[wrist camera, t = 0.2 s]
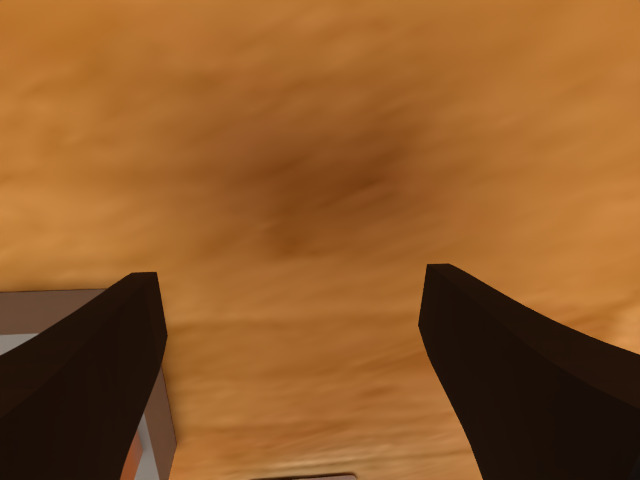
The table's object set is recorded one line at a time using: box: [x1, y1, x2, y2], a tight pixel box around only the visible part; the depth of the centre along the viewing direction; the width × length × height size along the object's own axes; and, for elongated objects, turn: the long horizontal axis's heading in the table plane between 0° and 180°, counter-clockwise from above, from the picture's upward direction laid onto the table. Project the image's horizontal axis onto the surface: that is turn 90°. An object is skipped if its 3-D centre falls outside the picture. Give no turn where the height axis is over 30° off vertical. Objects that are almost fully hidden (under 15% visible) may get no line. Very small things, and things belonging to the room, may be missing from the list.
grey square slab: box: [0, 289, 177, 480], centre depth 23 cm, size 12×12×4 cm
